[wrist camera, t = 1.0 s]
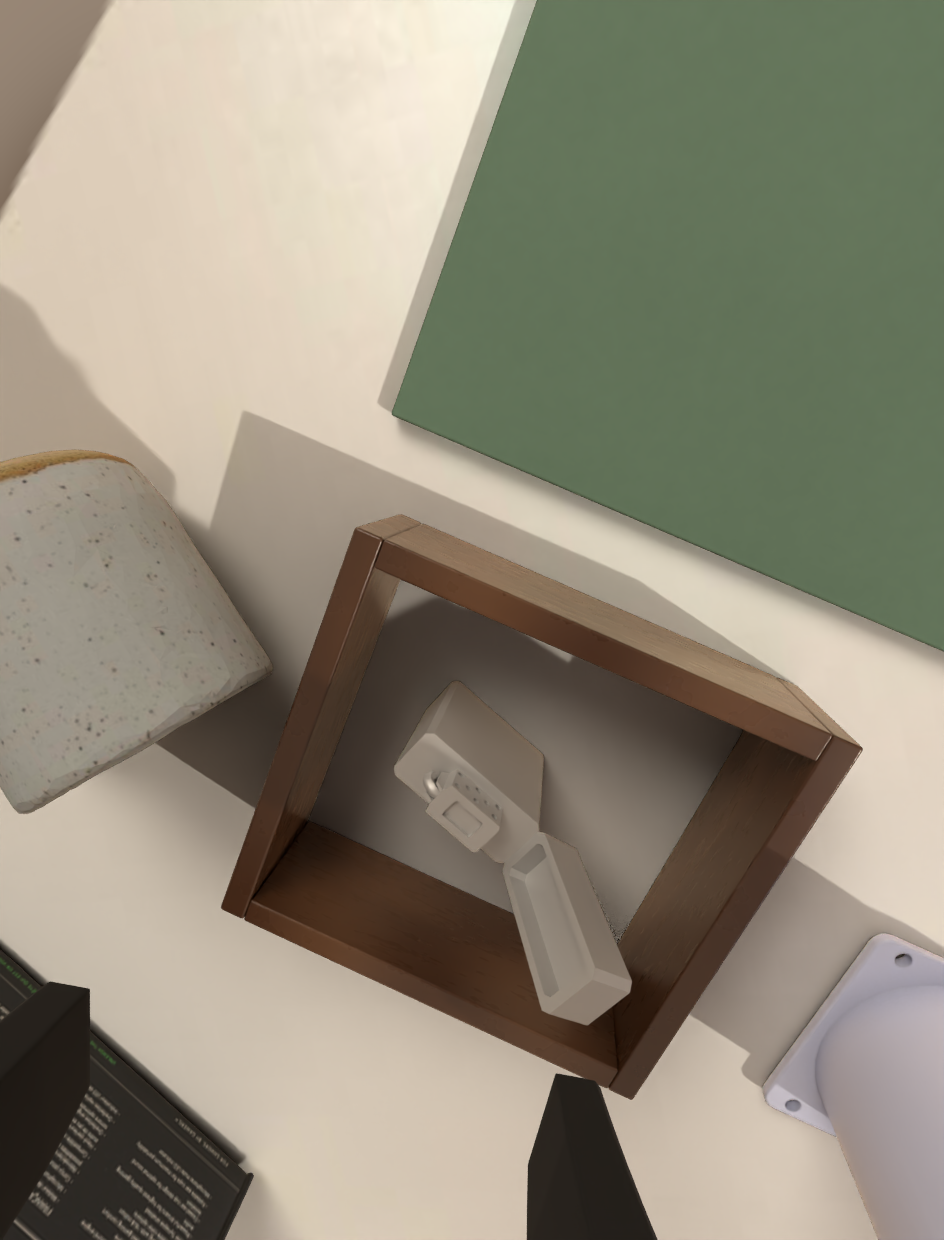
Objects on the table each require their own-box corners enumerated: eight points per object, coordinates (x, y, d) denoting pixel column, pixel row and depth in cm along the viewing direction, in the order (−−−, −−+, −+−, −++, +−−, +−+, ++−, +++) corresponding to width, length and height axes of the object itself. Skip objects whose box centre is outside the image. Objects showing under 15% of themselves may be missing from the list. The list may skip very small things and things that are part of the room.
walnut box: (798, 686, 20) (865, 748, 15) (619, 982, 23) (632, 1101, 19) (400, 513, 20) (354, 525, 16) (282, 828, 24) (218, 909, 19)
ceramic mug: (174, 434, 20) (-50, 420, 13) (314, 646, 22) (178, 743, 14) (-32, 594, 23) (-314, 656, 16) (100, 775, 24) (-106, 912, 17)
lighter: (423, 712, 22) (344, 849, 14) (455, 677, 21) (393, 799, 13) (576, 846, 22) (582, 1051, 14) (611, 814, 22) (638, 1009, 14)
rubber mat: (1373, 168, 15) (1400, 158, 14) (1010, 679, 19) (1022, 685, 18) (590, -136, 16) (591, -155, 15) (394, 416, 19) (390, 414, 19)
